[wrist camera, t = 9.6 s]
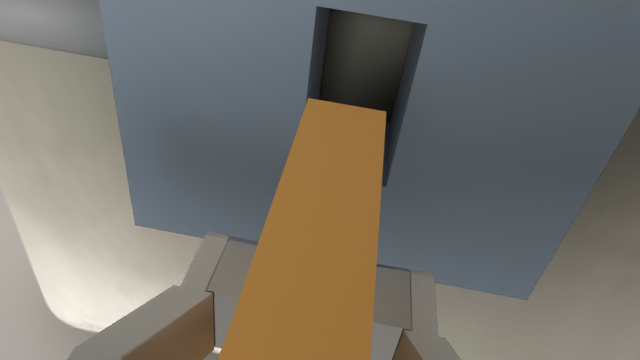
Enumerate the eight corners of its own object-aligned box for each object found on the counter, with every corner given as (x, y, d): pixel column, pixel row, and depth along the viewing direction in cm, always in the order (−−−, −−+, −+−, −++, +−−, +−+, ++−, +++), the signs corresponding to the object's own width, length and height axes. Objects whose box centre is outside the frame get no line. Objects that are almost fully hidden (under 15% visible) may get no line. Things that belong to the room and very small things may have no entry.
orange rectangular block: (308, 97, 12) (205, 395, 6) (386, 111, 12) (365, 428, 6) (292, 238, 15) (212, 535, 9) (354, 250, 15) (318, 557, 9)
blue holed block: (681, -135, 16) (773, -118, 12) (508, 224, 26) (526, 300, 22) (-182, -262, 17) (-359, -285, 13) (-34, 124, 27) (-110, 178, 23)
